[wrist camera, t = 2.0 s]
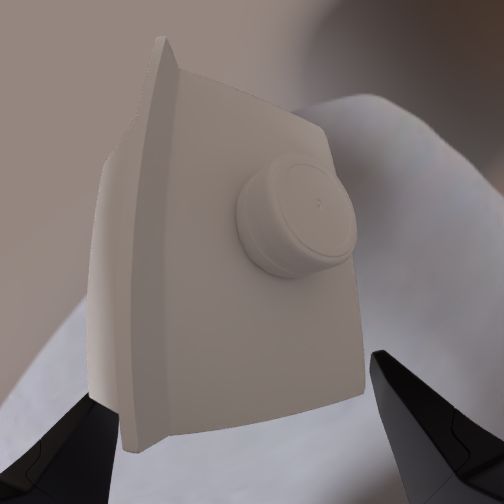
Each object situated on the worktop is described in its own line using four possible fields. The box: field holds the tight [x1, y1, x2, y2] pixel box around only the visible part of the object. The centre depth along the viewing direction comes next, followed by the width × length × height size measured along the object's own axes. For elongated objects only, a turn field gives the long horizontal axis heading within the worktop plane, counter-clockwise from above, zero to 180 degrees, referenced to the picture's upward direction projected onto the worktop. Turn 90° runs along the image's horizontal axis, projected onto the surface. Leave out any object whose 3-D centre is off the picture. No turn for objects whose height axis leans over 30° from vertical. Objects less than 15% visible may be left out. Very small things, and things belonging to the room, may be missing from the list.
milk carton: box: [86, 35, 365, 453], centre depth 13 cm, size 7×7×19 cm
